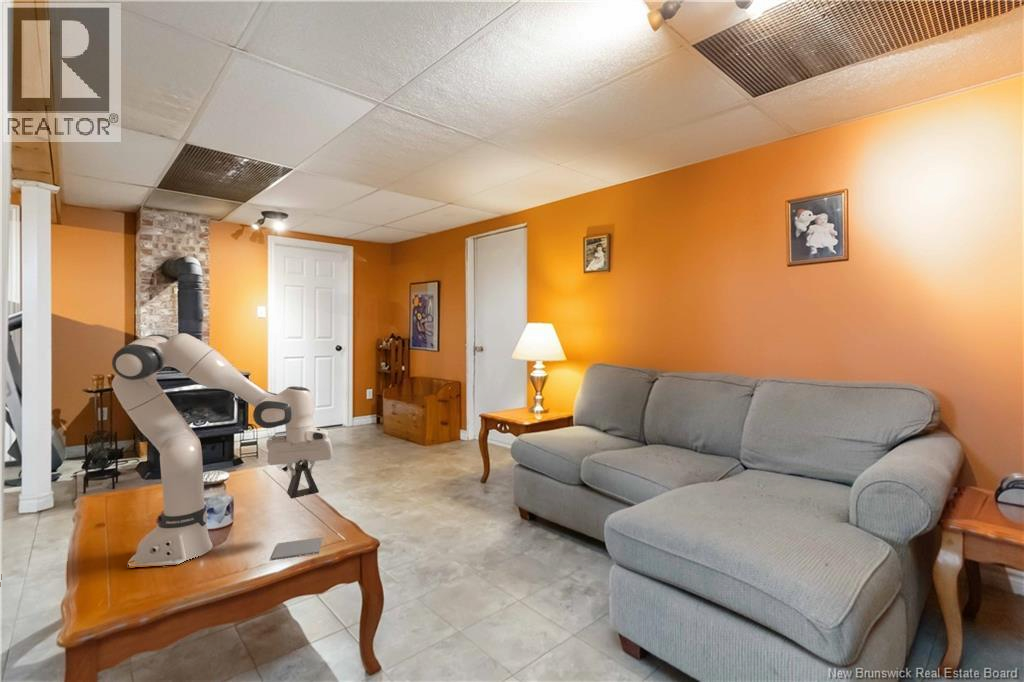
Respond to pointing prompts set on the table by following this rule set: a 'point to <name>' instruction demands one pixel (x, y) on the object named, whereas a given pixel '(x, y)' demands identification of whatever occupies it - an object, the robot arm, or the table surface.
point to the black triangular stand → (295, 480)
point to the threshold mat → (297, 548)
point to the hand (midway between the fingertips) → (301, 474)
